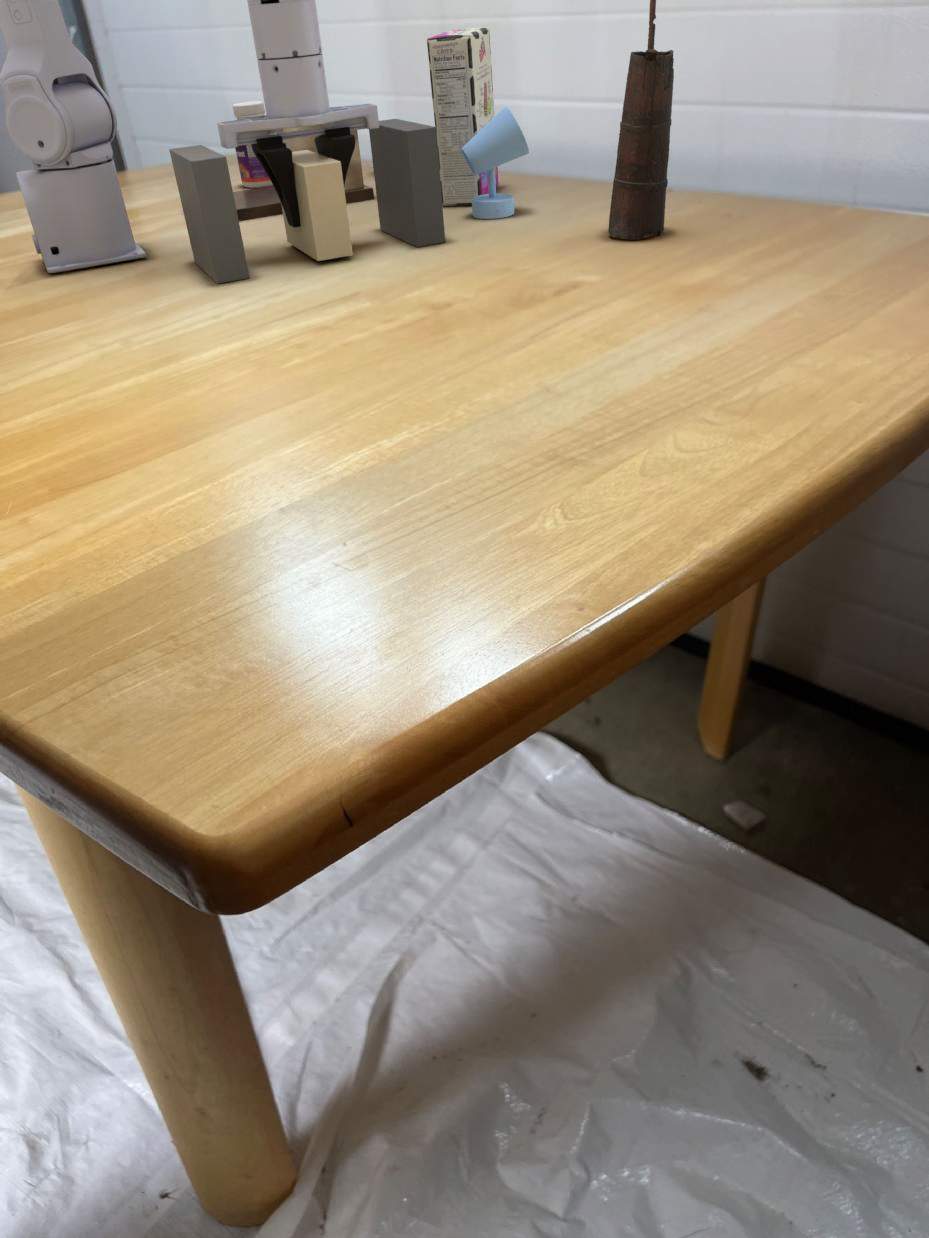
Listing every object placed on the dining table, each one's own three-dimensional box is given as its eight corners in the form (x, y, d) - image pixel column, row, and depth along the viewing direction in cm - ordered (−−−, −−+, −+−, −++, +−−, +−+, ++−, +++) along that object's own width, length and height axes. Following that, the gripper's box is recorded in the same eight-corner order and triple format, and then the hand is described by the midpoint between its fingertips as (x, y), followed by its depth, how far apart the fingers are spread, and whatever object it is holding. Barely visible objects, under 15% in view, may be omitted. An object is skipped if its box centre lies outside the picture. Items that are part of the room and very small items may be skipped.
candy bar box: (459, 188, 113) (448, 29, 104) (499, 186, 112) (491, 26, 103) (438, 207, 104) (424, 36, 95) (482, 206, 103) (472, 32, 94)
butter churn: (673, 251, 81) (696, -165, 65) (571, 246, 85) (569, -147, 69) (702, 227, 87) (729, -157, 71) (606, 224, 91) (612, -141, 75)
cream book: (317, 261, 86) (303, 166, 81) (287, 242, 93) (272, 154, 89) (353, 255, 87) (341, 161, 82) (320, 236, 94) (307, 149, 90)
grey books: (217, 284, 83) (190, 161, 77) (194, 262, 90) (168, 149, 85) (445, 242, 90) (436, 127, 84) (406, 225, 97) (396, 118, 92)
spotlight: (523, 206, 101) (461, 213, 101) (520, 102, 96) (454, 109, 95) (534, 214, 97) (470, 222, 97) (531, 107, 92) (463, 113, 91)
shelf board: (210, 225, 105) (190, 135, 100) (189, 209, 114) (170, 125, 109) (374, 198, 111) (364, 112, 106) (341, 185, 120) (331, 105, 115)
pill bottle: (240, 184, 127) (225, 104, 122) (279, 179, 128) (265, 99, 123) (244, 190, 123) (228, 107, 117) (285, 185, 124) (271, 102, 118)
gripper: (218, 67, 75) (251, 242, 83) (383, 49, 80) (400, 216, 88) (200, 64, 81) (233, 228, 89) (355, 48, 85) (374, 205, 93)
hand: (314, 222), depth 88 cm, fingers closed on cream book, 3 cm apart
